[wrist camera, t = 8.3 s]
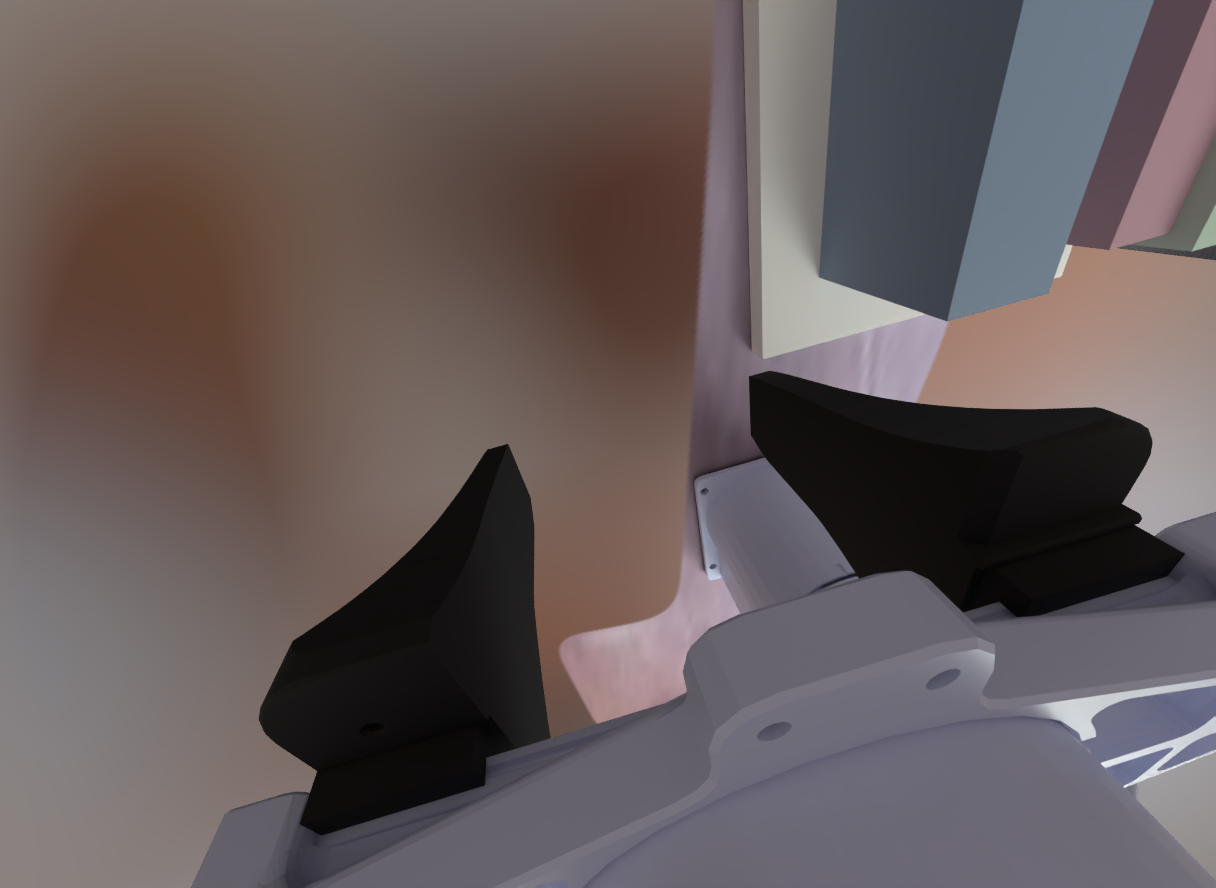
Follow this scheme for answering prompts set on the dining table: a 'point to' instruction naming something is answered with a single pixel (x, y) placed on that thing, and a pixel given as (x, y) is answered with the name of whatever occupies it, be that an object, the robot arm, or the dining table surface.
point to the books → (1159, 141)
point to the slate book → (966, 143)
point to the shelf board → (796, 182)
